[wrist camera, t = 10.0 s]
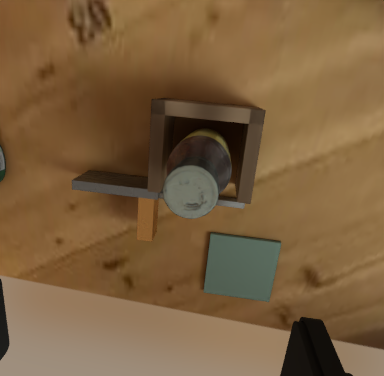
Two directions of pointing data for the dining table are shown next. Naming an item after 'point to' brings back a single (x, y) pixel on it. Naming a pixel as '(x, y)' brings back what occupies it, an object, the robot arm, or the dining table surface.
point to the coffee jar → (2, 164)
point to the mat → (241, 266)
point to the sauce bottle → (197, 173)
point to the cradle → (169, 108)
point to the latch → (125, 187)
